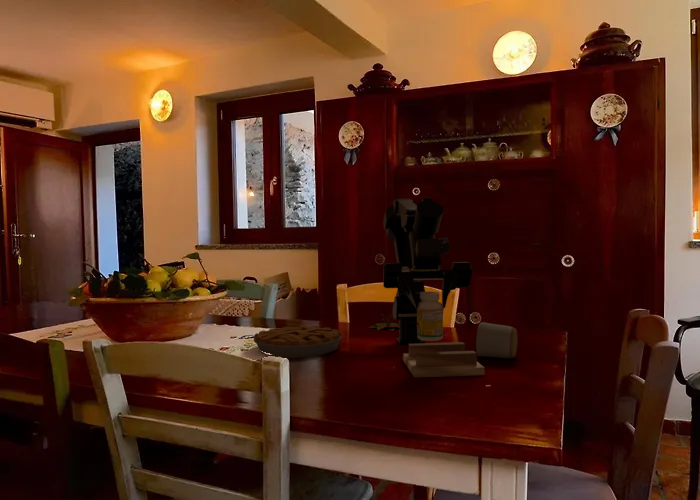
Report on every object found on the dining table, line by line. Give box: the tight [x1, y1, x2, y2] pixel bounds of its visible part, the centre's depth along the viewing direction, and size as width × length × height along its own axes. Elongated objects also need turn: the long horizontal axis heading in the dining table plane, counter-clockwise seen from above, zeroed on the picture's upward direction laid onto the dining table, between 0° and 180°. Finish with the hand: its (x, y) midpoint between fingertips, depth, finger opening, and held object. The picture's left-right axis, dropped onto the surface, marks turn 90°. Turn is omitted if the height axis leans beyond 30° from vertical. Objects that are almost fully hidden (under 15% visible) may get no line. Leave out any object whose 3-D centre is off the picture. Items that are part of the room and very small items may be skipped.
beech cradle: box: [402, 341, 486, 378], centre depth 107 cm, size 14×14×4 cm
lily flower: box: [368, 313, 399, 331], centre depth 155 cm, size 12×12×5 cm
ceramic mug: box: [475, 321, 518, 360], centre depth 117 cm, size 11×8×8 cm
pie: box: [253, 324, 343, 359], centre depth 128 cm, size 22×22×5 cm
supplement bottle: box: [417, 291, 444, 342], centre depth 106 cm, size 5×5×10 cm
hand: (430, 306), depth 105 cm, fingers closed on supplement bottle, 5 cm apart
